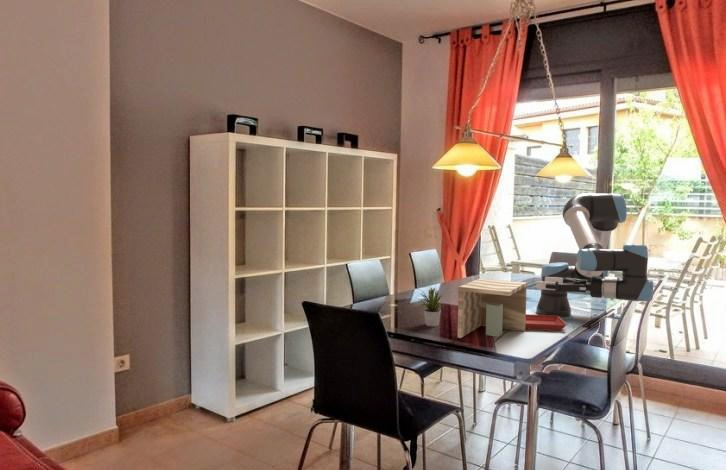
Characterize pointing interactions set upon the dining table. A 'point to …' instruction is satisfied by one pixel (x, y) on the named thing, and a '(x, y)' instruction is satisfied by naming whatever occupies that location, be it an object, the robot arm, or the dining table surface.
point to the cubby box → (494, 291)
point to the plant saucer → (544, 322)
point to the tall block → (494, 319)
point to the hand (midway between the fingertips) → (540, 282)
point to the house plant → (431, 308)
